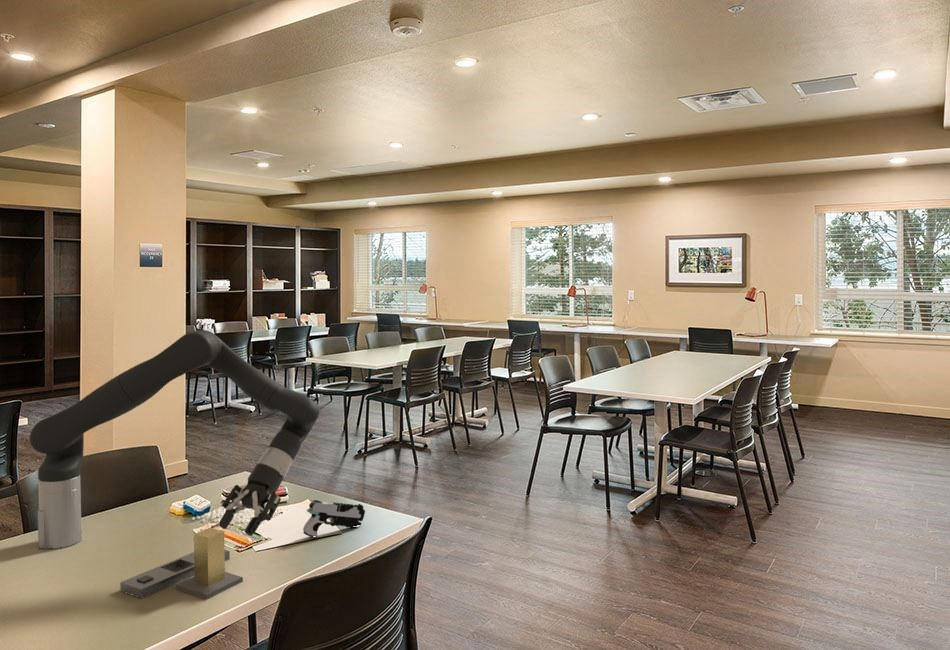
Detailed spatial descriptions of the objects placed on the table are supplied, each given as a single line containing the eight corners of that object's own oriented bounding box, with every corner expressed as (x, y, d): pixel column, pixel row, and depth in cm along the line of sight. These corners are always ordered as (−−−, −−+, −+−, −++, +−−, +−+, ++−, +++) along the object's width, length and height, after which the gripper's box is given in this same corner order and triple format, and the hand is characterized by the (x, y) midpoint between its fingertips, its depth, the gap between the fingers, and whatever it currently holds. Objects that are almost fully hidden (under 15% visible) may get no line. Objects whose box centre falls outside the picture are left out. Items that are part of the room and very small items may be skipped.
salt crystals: (291, 513, 202) (291, 507, 202) (243, 534, 184) (243, 528, 184) (239, 502, 211) (240, 497, 210) (189, 521, 193) (189, 515, 192)
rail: (141, 598, 146) (140, 588, 145) (120, 591, 149) (120, 580, 149) (229, 559, 167) (229, 549, 167) (209, 553, 170) (209, 544, 170)
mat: (206, 599, 146) (206, 594, 146) (175, 588, 150) (175, 584, 150) (242, 581, 155) (242, 577, 154) (212, 571, 159) (212, 567, 159)
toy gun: (357, 542, 189) (367, 506, 190) (303, 537, 179) (313, 500, 180) (354, 539, 191) (363, 504, 192) (299, 535, 180) (309, 497, 182)
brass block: (208, 586, 149) (207, 537, 149) (194, 582, 152) (193, 533, 151) (224, 578, 153) (224, 531, 153) (211, 574, 156) (210, 527, 155)
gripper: (241, 458, 168) (204, 517, 159) (284, 466, 161) (247, 528, 152) (258, 474, 173) (222, 532, 164) (300, 482, 166) (265, 544, 157)
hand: (234, 530), depth 158 cm, fingers open, 8 cm apart
